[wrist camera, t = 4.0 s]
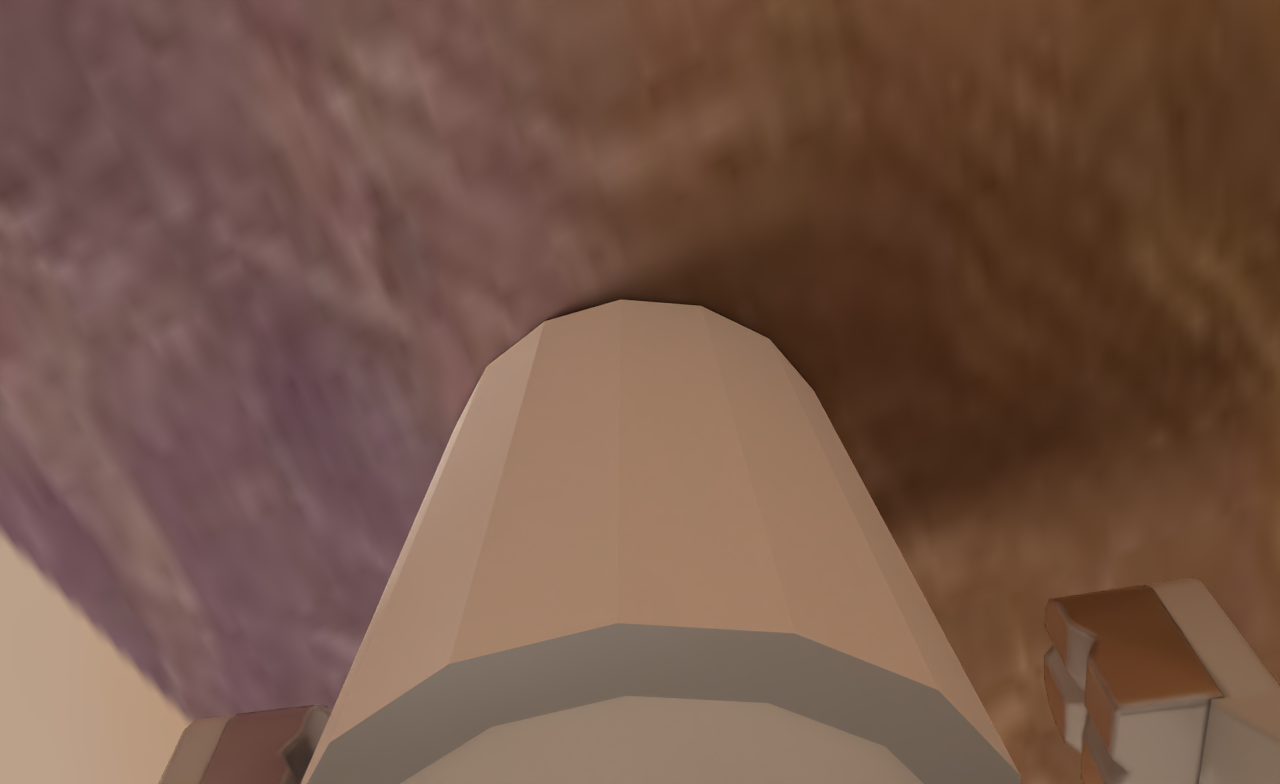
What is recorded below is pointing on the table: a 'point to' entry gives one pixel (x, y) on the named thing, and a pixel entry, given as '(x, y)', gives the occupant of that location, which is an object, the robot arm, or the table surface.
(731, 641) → the white cup
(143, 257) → the table surface
